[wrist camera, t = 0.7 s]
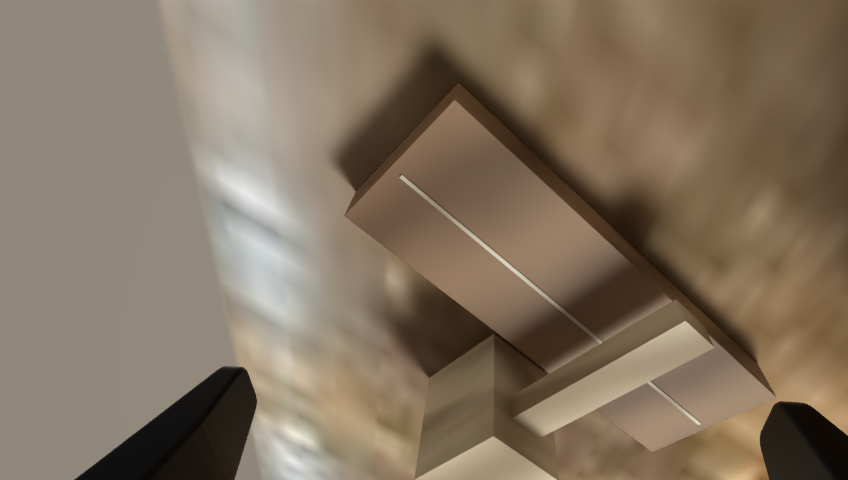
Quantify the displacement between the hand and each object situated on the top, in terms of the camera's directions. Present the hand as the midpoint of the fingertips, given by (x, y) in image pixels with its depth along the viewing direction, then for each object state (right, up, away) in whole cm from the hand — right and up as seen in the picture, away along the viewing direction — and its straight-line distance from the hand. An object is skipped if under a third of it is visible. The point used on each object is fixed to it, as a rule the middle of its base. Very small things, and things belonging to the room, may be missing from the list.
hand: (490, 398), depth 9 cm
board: (+6, +1, +15) cm, 16 cm away
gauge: (+5, -2, +17) cm, 18 cm away
